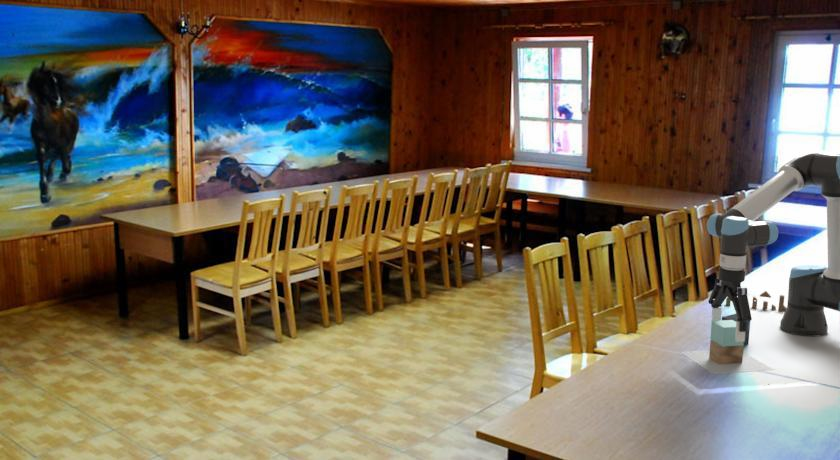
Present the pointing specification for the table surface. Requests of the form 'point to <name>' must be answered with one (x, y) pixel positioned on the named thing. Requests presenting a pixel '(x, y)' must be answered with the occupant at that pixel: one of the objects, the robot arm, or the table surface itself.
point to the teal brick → (724, 333)
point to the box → (734, 318)
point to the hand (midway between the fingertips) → (727, 334)
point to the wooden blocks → (765, 302)
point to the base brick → (725, 353)
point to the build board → (714, 368)
